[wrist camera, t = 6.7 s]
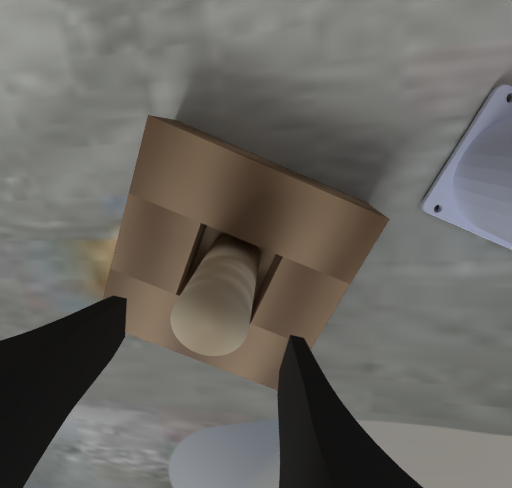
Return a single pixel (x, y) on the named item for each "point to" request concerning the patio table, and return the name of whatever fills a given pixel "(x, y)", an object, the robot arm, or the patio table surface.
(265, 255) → the socket block
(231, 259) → the peg
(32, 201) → the patio table surface
